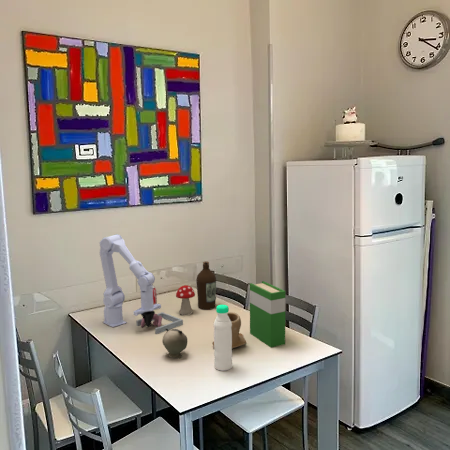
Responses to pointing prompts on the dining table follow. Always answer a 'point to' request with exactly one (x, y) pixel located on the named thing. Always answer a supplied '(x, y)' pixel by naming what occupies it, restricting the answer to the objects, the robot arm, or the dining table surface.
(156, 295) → the soda can
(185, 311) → the decorative mushroom
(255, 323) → the hardback book
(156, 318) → the video game controller
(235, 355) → the dining table surface
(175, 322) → the grey bin
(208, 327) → the dining table surface
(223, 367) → the water bottle
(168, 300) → the dining table surface
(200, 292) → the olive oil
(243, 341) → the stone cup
